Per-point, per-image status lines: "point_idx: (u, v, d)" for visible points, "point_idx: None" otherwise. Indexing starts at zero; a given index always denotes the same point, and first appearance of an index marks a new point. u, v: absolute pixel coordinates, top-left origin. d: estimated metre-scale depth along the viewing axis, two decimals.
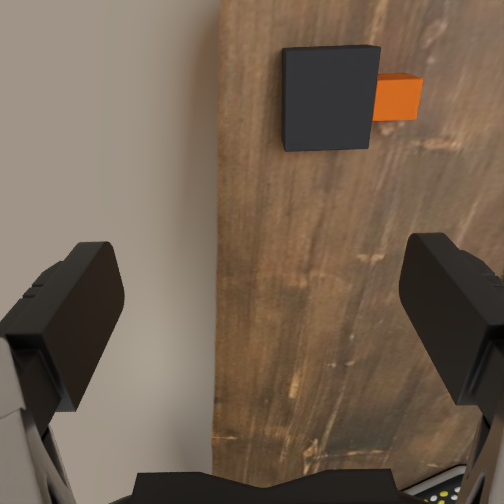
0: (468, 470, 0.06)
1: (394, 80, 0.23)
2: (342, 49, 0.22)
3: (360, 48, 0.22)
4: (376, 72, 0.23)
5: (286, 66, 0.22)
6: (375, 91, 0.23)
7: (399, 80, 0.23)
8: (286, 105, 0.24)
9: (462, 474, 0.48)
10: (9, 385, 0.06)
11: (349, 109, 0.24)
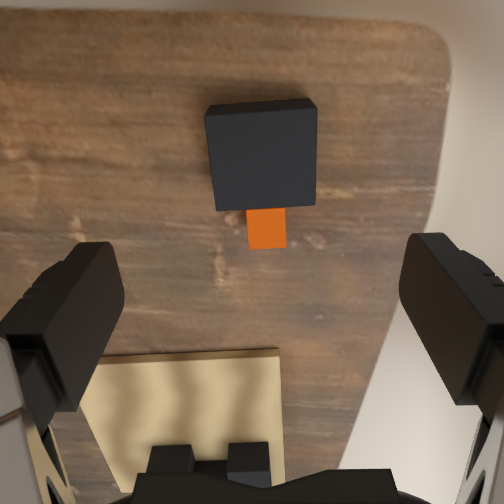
0: (468, 470, 0.06)
1: (285, 223, 0.23)
2: (315, 169, 0.21)
3: (315, 186, 0.22)
4: (292, 205, 0.22)
5: (301, 109, 0.20)
6: (274, 206, 0.23)
7: (285, 227, 0.23)
8: (259, 113, 0.20)
9: None
10: (9, 385, 0.06)
11: (256, 185, 0.22)
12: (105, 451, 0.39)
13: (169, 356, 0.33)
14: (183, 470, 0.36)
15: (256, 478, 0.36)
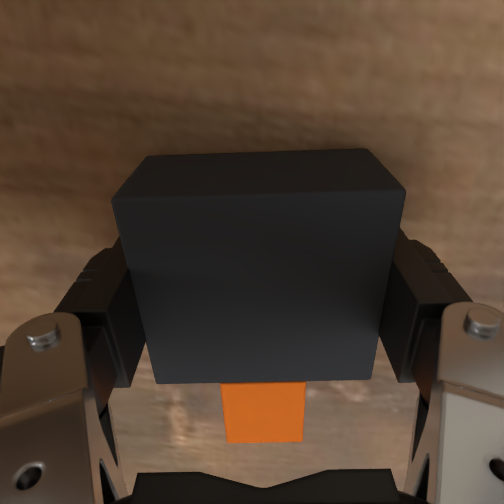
0: (413, 451, 0.07)
1: (303, 406, 0.11)
2: (380, 317, 0.09)
3: (375, 348, 0.10)
4: (322, 379, 0.10)
5: (364, 194, 0.07)
6: (281, 377, 0.11)
7: (302, 413, 0.11)
8: (254, 199, 0.08)
9: None
10: (77, 362, 0.06)
11: (244, 343, 0.10)
12: None
13: None
14: None
15: None
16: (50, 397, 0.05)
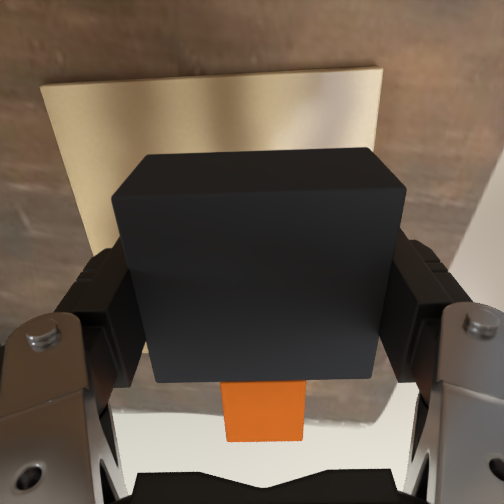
0: (412, 451, 0.07)
1: (303, 405, 0.11)
2: (380, 316, 0.09)
3: (376, 347, 0.10)
4: (322, 378, 0.10)
5: (365, 191, 0.07)
6: (281, 376, 0.11)
7: (302, 412, 0.11)
8: (254, 196, 0.08)
9: None
10: (77, 362, 0.06)
11: (244, 342, 0.10)
12: None
13: (207, 76, 0.21)
14: None
15: None
16: (50, 397, 0.05)
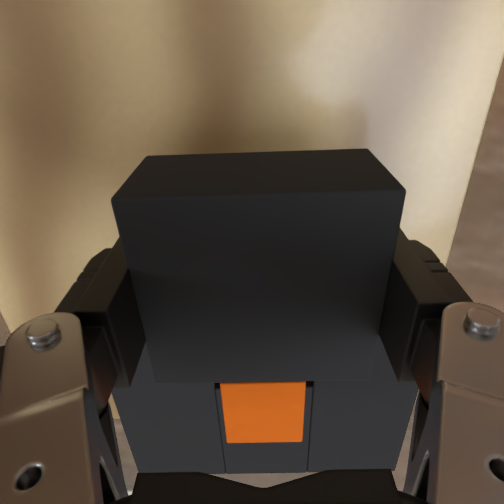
0: (413, 451, 0.07)
1: (303, 406, 0.11)
2: (380, 317, 0.09)
3: (375, 348, 0.10)
4: (322, 379, 0.10)
5: (364, 193, 0.07)
6: (281, 377, 0.11)
7: (302, 413, 0.11)
8: (254, 198, 0.08)
9: None
10: (77, 362, 0.06)
11: (244, 343, 0.10)
12: (3, 301, 0.16)
13: None
14: None
15: None
16: (50, 397, 0.05)
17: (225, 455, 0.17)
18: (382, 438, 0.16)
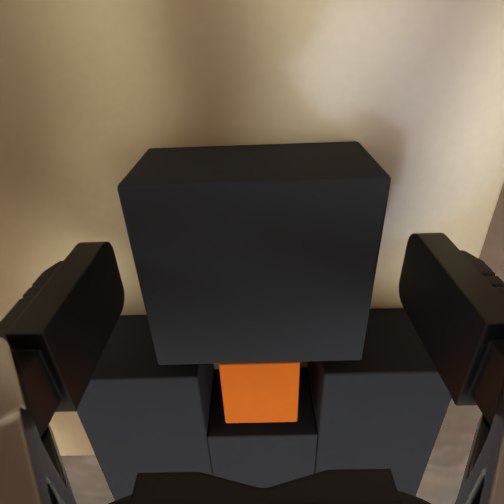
0: (468, 470, 0.06)
1: (297, 386, 0.12)
2: (369, 299, 0.10)
3: (365, 329, 0.10)
4: (315, 359, 0.11)
5: (352, 180, 0.08)
6: (276, 358, 0.11)
7: (297, 393, 0.12)
8: (250, 185, 0.08)
9: None
10: (9, 385, 0.06)
11: (241, 324, 0.10)
12: None
13: None
14: (185, 369, 0.12)
15: (411, 397, 0.12)
16: None
17: None
18: None
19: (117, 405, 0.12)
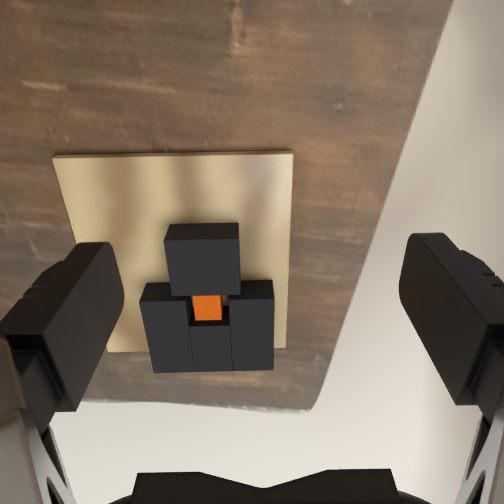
0: (468, 470, 0.06)
1: (220, 304, 0.33)
2: (238, 273, 0.32)
3: (239, 283, 0.32)
4: (224, 294, 0.33)
5: (227, 239, 0.30)
6: (212, 294, 0.33)
7: (220, 307, 0.33)
8: (200, 240, 0.30)
9: None
10: (9, 385, 0.06)
11: (199, 281, 0.32)
12: None
13: (173, 153, 0.30)
14: (181, 298, 0.33)
15: (260, 309, 0.34)
16: None
17: (194, 361, 0.37)
18: (263, 351, 0.36)
19: (156, 312, 0.34)
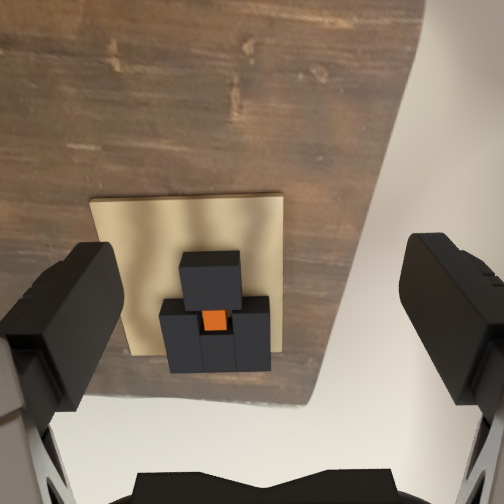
0: (468, 470, 0.06)
1: (225, 317, 0.40)
2: (240, 292, 0.38)
3: (240, 300, 0.39)
4: (228, 309, 0.40)
5: (230, 266, 0.37)
6: (218, 309, 0.40)
7: (225, 320, 0.40)
8: (208, 267, 0.37)
9: None
10: (9, 385, 0.06)
11: (207, 299, 0.39)
12: None
13: (185, 197, 0.37)
14: (193, 312, 0.40)
15: (258, 321, 0.40)
16: None
17: (204, 363, 0.44)
18: (262, 355, 0.43)
19: (172, 324, 0.41)
